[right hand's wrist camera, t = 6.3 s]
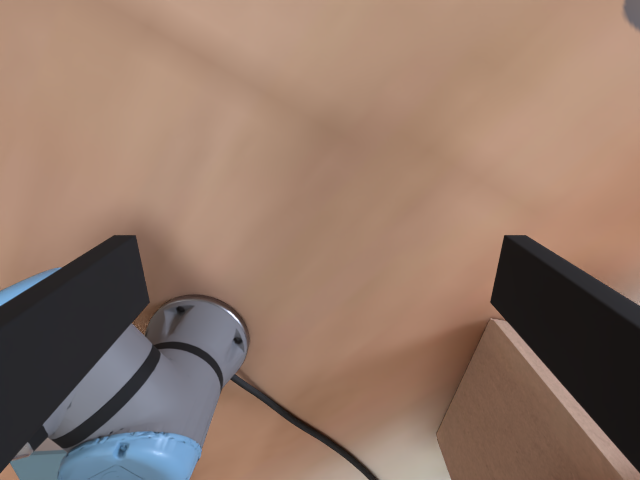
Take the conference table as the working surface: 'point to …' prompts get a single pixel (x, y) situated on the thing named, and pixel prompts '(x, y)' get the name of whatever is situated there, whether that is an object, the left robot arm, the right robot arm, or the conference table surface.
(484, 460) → the box
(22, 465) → the book
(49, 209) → the conference table surface
